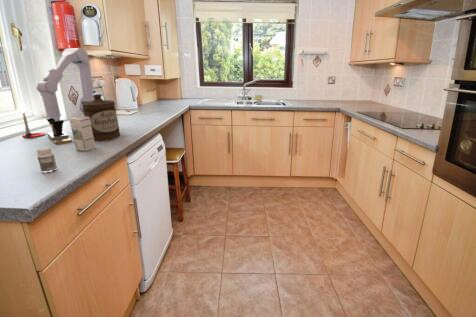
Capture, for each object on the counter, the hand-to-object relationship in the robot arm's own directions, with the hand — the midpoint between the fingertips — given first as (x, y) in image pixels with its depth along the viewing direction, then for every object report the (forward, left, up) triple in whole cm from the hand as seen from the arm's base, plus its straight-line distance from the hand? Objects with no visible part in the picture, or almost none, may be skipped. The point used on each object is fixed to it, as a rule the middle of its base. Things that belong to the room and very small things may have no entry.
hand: (58, 133), depth 139 cm
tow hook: (+8, -18, -4) cm, 20 cm away
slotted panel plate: (0, 0, -3) cm, 3 cm away
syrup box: (-5, +29, -3) cm, 30 cm away
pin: (0, 0, -3) cm, 3 cm away
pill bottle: (+12, +48, -3) cm, 50 cm away
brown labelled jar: (-18, +13, -3) cm, 22 cm away
